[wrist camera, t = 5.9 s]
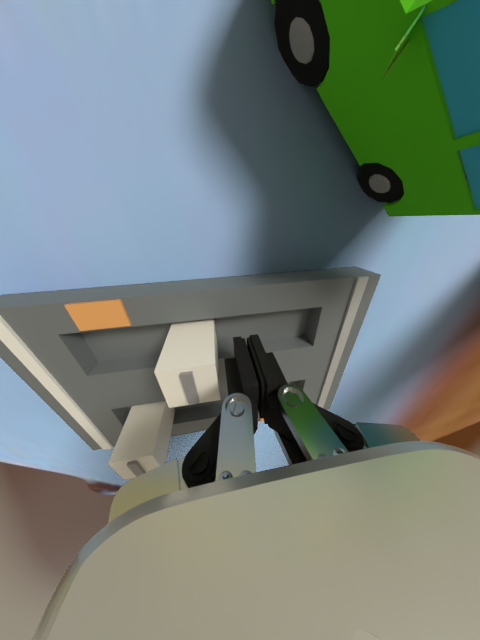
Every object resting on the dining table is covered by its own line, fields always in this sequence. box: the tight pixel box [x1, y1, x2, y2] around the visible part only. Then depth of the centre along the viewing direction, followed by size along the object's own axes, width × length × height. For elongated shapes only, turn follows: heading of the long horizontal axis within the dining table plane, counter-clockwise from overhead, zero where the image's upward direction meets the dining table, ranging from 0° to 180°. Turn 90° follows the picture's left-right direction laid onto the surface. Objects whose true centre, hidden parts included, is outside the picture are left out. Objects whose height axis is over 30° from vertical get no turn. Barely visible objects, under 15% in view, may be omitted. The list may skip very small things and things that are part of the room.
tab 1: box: [108, 401, 175, 480], centre depth 15 cm, size 3×3×5 cm
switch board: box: [0, 267, 381, 450], centre depth 16 cm, size 26×16×3 cm, turn 92°
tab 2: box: [154, 318, 221, 408], centre depth 12 cm, size 3×3×5 cm
